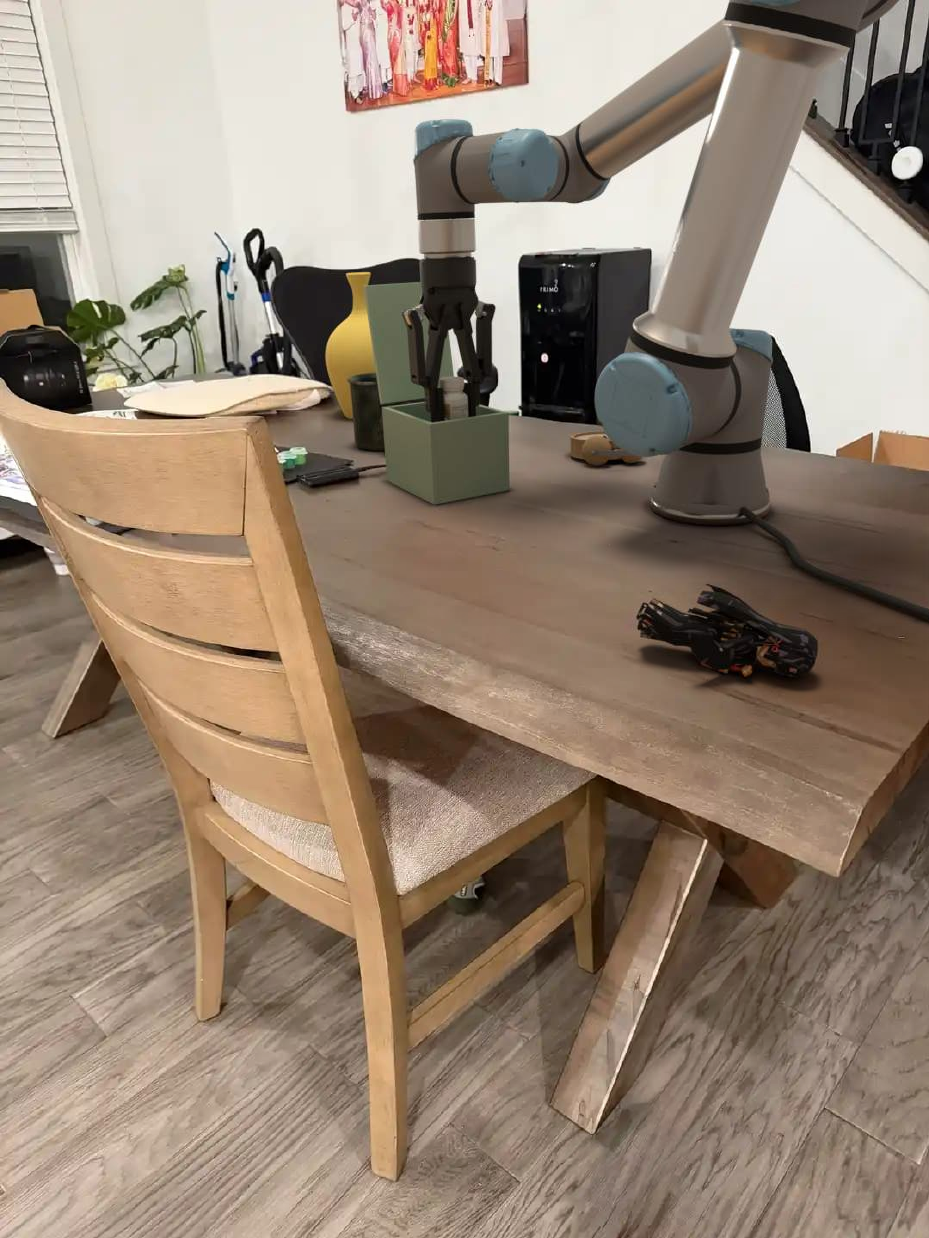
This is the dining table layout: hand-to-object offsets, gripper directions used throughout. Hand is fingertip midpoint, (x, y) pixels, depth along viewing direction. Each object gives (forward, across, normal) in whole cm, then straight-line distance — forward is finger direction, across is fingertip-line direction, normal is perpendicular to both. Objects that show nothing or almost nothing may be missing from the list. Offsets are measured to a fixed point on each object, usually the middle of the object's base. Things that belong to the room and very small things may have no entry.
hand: (454, 431), depth 121 cm
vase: (+9, -13, -61) cm, 63 cm away
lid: (-11, 0, -12) cm, 16 cm away
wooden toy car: (+9, -29, -1) cm, 30 cm away
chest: (+9, 0, -3) cm, 9 cm away
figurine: (+9, +8, +61) cm, 62 cm away
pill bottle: (0, 0, 0) cm, 1 cm away
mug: (+9, -3, -32) cm, 33 cm away
